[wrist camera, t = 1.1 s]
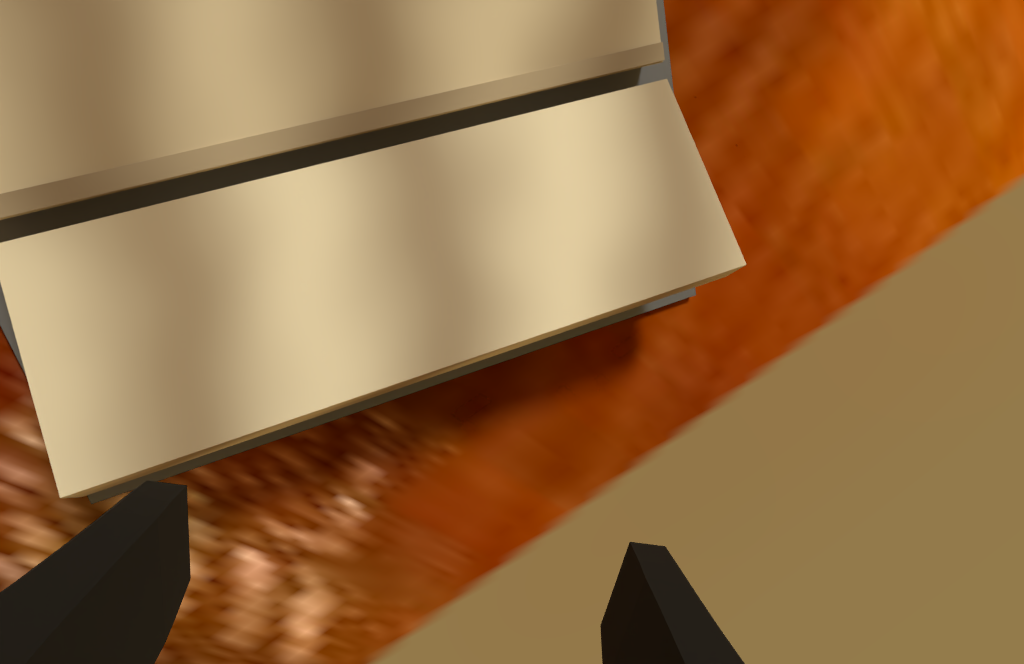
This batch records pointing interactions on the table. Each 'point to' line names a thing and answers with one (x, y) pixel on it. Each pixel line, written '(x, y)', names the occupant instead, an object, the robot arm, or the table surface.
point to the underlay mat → (324, 154)
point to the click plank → (352, 279)
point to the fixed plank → (268, 78)
